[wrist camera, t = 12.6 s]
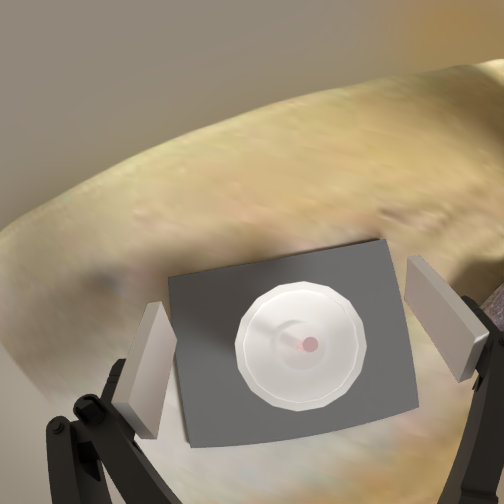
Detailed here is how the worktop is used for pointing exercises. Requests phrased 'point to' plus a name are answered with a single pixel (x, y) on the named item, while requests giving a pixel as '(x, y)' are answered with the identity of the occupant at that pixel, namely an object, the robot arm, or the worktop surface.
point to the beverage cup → (300, 346)
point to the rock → (495, 307)
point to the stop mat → (226, 328)
